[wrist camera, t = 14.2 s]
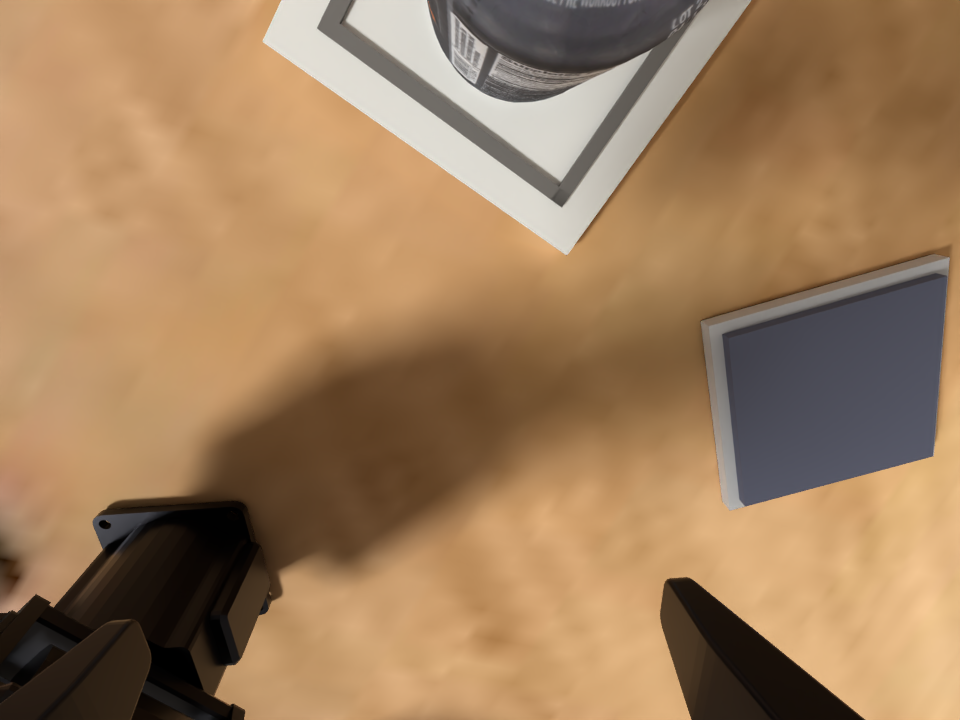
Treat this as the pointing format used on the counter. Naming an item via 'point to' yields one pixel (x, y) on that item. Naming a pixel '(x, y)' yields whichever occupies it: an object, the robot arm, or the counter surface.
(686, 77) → the board
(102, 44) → the counter surface
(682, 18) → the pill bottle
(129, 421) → the counter surface
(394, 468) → the counter surface
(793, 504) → the counter surface
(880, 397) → the ink pad
